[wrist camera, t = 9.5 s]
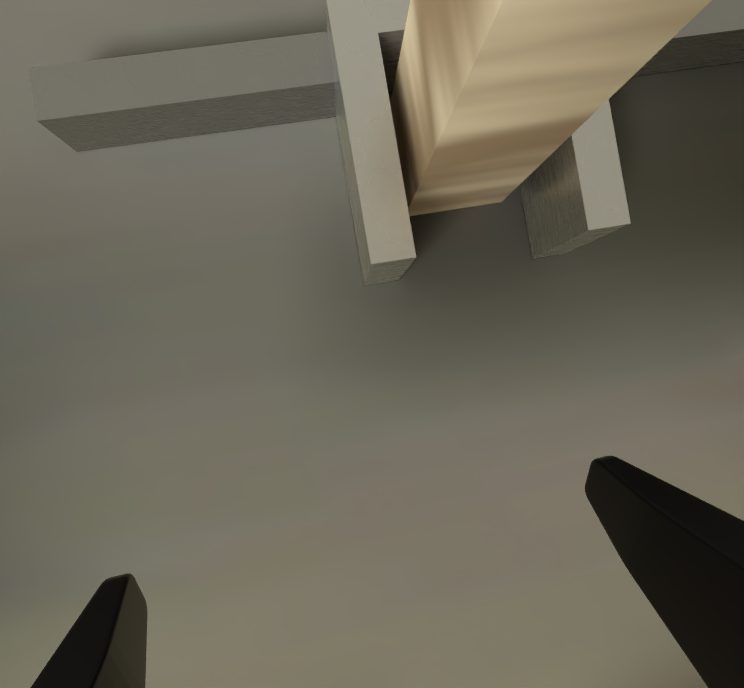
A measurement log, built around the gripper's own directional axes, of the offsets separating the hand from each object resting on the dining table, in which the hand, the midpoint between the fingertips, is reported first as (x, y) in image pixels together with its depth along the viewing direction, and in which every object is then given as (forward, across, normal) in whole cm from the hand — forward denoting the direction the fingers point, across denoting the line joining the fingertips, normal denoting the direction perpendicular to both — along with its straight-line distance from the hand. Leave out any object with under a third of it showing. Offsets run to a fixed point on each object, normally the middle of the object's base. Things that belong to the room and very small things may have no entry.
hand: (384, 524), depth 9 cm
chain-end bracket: (+12, -6, -3) cm, 14 cm away
